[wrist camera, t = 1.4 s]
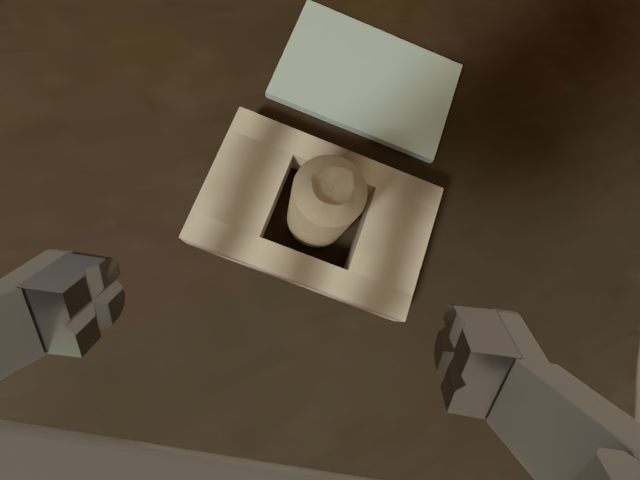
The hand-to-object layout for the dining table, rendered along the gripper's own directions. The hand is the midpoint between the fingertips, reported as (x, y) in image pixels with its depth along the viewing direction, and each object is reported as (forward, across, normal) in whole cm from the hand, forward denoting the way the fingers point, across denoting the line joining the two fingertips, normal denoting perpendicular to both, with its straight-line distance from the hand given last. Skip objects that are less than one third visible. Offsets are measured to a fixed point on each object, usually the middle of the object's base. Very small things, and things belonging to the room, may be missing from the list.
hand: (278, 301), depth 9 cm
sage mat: (+34, -2, -3) cm, 35 cm away
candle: (+24, +1, +9) cm, 25 cm away
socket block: (+24, +1, +9) cm, 25 cm away
